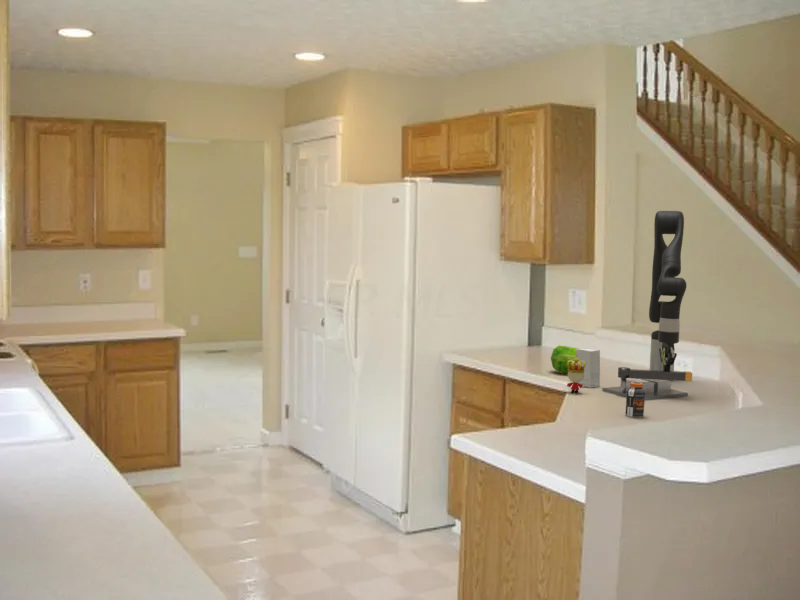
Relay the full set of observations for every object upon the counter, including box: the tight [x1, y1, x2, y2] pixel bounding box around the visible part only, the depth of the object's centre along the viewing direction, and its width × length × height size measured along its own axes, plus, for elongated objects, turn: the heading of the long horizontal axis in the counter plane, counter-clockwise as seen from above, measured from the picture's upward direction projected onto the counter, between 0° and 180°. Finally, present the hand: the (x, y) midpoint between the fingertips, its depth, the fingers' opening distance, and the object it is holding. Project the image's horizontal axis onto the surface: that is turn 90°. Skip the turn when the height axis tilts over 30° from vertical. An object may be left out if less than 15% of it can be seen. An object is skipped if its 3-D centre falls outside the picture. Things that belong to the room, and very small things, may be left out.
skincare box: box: [576, 347, 601, 388], centre depth 353 cm, size 8×6×15 cm
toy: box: [566, 355, 586, 394], centre depth 337 cm, size 7×7×15 cm
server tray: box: [601, 378, 689, 401], centre depth 341 cm, size 25×20×7 cm
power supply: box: [626, 378, 654, 393], centre depth 339 cm, size 7×9×4 cm
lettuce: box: [550, 345, 580, 375], centre depth 383 cm, size 14×20×12 cm
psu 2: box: [641, 379, 672, 392], centre depth 344 cm, size 7×9×4 cm
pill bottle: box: [625, 382, 646, 418], centre depth 298 cm, size 6×6×11 cm
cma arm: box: [617, 366, 693, 382], centre depth 334 cm, size 27×4×4 cm, turn 84°
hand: (666, 375), depth 337 cm, fingers closed
